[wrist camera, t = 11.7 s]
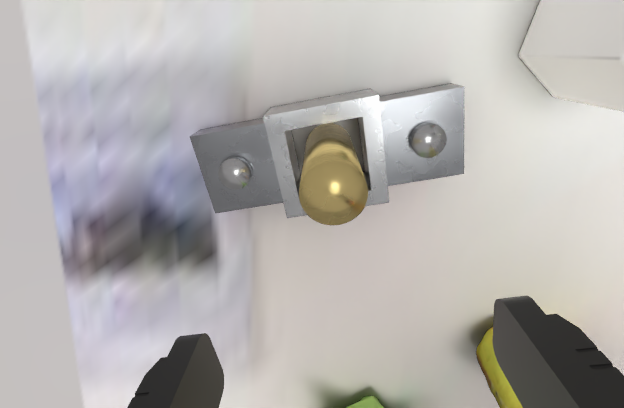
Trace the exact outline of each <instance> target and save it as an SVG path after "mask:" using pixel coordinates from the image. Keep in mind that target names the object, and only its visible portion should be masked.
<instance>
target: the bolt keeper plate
mask: <svg viewBox="0 0 624 408" xmlns="http://www.w3.org/2000/svg"><path fill="white" fill-rule="evenodd" d="M353 118H358V121H359V129H360V137H361V145H362V153H363V161H364V169H365V172H363V175H364V177H365V180H366V183H367V187H368V199H367V202H366V205H365V206H369V205H375V204H382V203H388V202H389V195H388V186H390V185H396V184H403V183H409V182H415V181H422V180H428V179H434V178H440V177H447V176H453V175H459V174H464V86H460V85H456V84H452V83H450V84H445V85H439V86H434V87H428V88H423V89H418V90H412V91H407V92H401V93H396V94H391V95H385V96H380V97H379V95H378V94H377V93H376V92H374V91H373V90H372V89H366V90H360V91H355V92H350V93H344V94H339V95H334V96H328V97H323V98H318V99H312V100H307V101H302V102H296V103H291V104H285V105H280V106H275V107H271V108H270V109H269V110H268V111H267V112H266V113H265V115H264V116H263V118H260V119H255V120H250V121H244V122H239V123H233V124H228V125H222V126H217V127H212V128H206V129H201V130H199V131H198V132H196V133H195V134H193V135H192V136H190V139H191V142H192V145H193V148H194V151H195V154H196V157H197V160H198V163H199V166H200V169H201V172H202V175H203V178H204V181H205V184H206V187H207V190H208V193H209V196H210V199H211V202H212V205H213V208H214V210H215V213H220V212H227V211H233V210H239V209H245V208H252V207H258V206H264V205H271V204H277V203H283V202H284V207H285V211H286V215H287V218H291V217H298V216H304V215H307V214H306V213H305V211H304V210H303V208H302V206H301V204H300V200H299V187H300V181H301V175H300V170H299V165H298V160H297V156H296V151H295V146H294V141H293V136H292V132H291V130H292V129H297V128H303V127H308V126H314V125H319V124H325V123H331V122H336V121H342V120H347V119H353Z"/></svg>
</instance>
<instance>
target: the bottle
mask: <svg viewBox="0 0 624 408" xmlns="http://www.w3.org/2000/svg"><path fill="white" fill-rule="evenodd" d="M492 339H493V327H491V328H490V329H489V330H487V332H486V333H485V335H484V336H483V338H482V340H481V342H480V344H479V345H478V347H477V351H476V355H477V359H478V362H479V365H480V367H481V369H482V372H483V373H484V375H485V377H486V380H487V383H488V386H489V388H490V390H491V392H492V394H493V395H494V397H495V398H496V400H497V402H498V405H499V407H500V408H523V407H522V405H521V403H520V401H519V400H518V398H517V396H516V394H515V393H514V391H513V389H512V387H511V386H510V384H509V382H508V380H507V378H506V377H505V375H504V373H503V371H502V370H501V368H500V366H499V364H498V362H497V359H496V356H495V353H494V349H493V342H492Z"/></svg>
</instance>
